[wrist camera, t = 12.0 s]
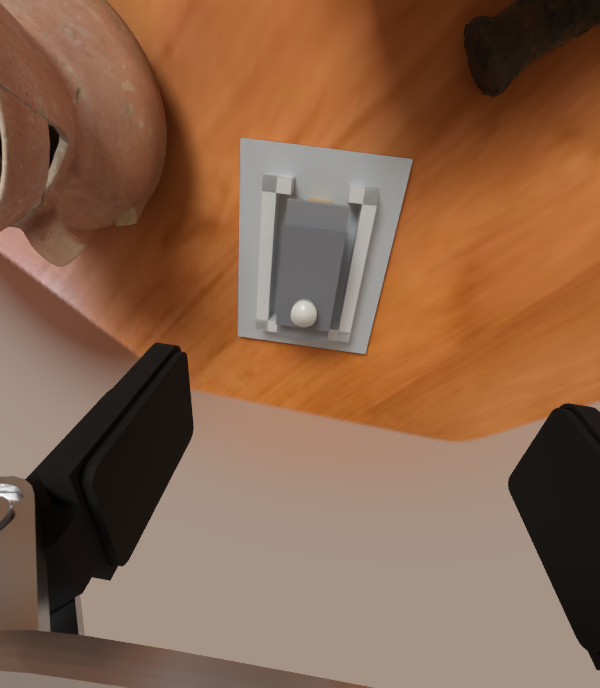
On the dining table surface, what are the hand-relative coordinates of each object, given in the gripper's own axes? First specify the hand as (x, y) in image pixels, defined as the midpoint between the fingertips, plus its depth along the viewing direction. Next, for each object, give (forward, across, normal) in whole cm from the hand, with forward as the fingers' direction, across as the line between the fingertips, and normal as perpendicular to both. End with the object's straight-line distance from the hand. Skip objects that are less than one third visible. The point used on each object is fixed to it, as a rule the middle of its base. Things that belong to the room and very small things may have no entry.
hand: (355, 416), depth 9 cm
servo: (+20, +3, +3) cm, 21 cm away
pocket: (+21, +3, +3) cm, 21 cm away
